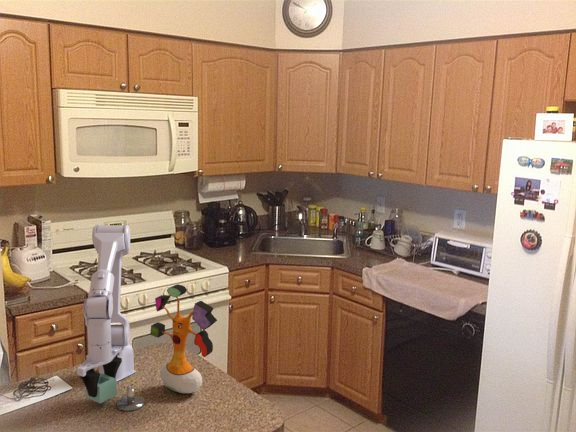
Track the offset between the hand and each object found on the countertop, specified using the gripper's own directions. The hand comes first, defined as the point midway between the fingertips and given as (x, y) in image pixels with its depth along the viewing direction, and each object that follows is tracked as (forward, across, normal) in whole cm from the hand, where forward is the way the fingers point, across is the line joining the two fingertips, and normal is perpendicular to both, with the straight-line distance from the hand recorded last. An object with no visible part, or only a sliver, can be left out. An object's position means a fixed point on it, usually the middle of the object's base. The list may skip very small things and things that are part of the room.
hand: (101, 390), depth 144 cm
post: (+4, -3, +7) cm, 8 cm away
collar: (+2, 0, 0) cm, 2 cm away
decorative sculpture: (+4, -15, +16) cm, 22 cm away
